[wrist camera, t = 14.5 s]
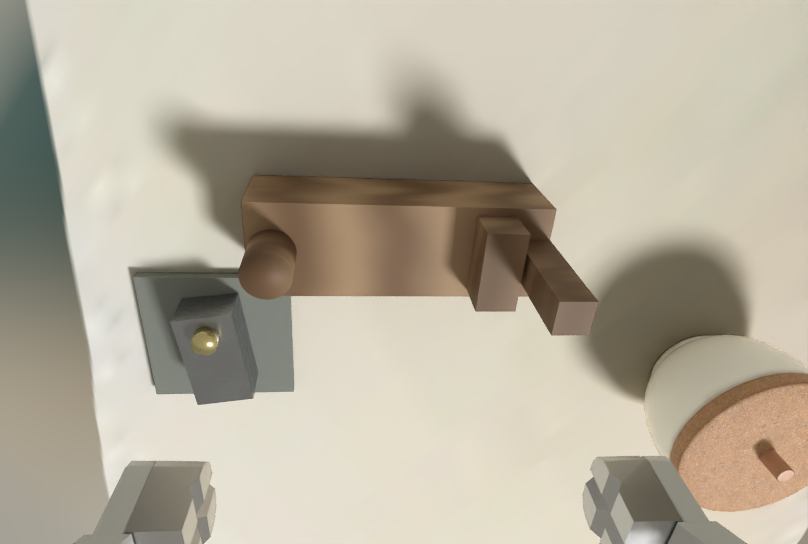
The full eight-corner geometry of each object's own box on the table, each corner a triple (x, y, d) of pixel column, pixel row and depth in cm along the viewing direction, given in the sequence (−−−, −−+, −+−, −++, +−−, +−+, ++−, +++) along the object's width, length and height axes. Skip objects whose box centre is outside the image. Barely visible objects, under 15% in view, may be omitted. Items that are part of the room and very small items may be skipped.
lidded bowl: (771, 288, 42) (900, 382, 32) (758, 403, 48) (862, 510, 38) (614, 330, 42) (695, 436, 33) (621, 439, 48) (691, 554, 39)
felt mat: (289, 273, 37) (288, 278, 36) (294, 386, 41) (293, 391, 41) (135, 272, 35) (133, 277, 35) (159, 388, 40) (156, 394, 40)
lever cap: (258, 372, 40) (251, 406, 37) (206, 378, 39) (195, 413, 36) (238, 292, 36) (228, 322, 33) (181, 298, 36) (166, 329, 33)
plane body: (532, 183, 35) (608, 266, 25) (517, 263, 38) (580, 366, 28) (252, 174, 33) (214, 262, 23) (258, 260, 36) (227, 371, 26)
